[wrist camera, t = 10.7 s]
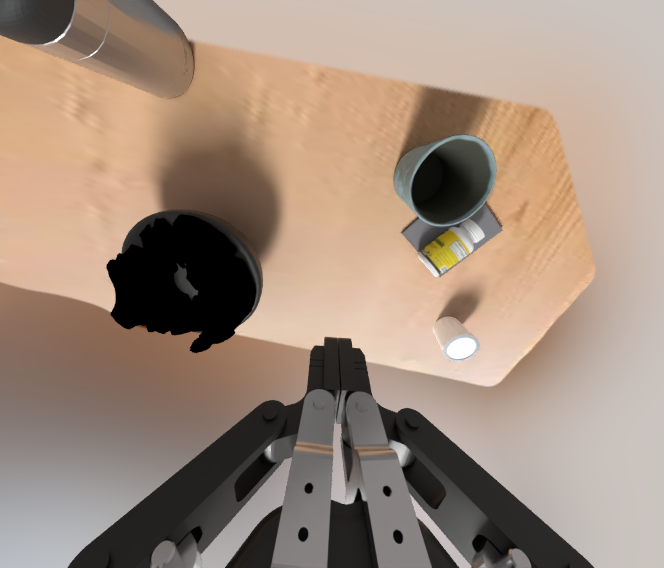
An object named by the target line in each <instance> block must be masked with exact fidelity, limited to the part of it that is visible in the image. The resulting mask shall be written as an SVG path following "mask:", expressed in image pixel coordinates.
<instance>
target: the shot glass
mask: <svg viewBox="0 0 664 568" xmlns="http://www.w3.org/2000/svg"><path fill="white" fill-rule="evenodd" d="M433 332H434V334H435V336H436V338H437V341H438V343H439V345H440V347H441V349H442V352H443V354H444V356H445V358H447V359H448V360H449V361H454V362H461V361H465V360H467V359H470V358H471V357H472V356H474V355H475V354H476V352H477V351H478V349H479V341H478V339H477V338H476V337H475V336H474V335H473V334H472V333H471V332H470V331H468V330H467V329H466V328H465V327H464V326H463V325H462V324H461V323H460V322H459V321H458V320H457V319H456V318H454V317H450V316H448V317H443V318H441V319H439V320H438V321H436V322H435V324H434V326H433Z"/></svg>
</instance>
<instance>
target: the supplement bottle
mask: <svg viewBox="0 0 664 568" xmlns="http://www.w3.org/2000/svg"><path fill="white" fill-rule="evenodd" d="M484 237H485V235H484V233H483V231H482V230H481V228H480V227H479V226H478V225H477V224H476V223H475V222H474V221H472V220H470V219H467V220H466V221H465V222H463V223H462V224H461V225H460V227H459V228H457V227H451V228H449V229H448V230H446V231H445V232H444V233H443V234H441V235H440V236H439V237H438V238H436V239H435V240H434V241H432V242H431V243H430V244H429V245H427V246H426V247H425V248H423V249H422V250H421V251H420V252H419V253H418V254H417V256H418V258H419V259H420V260H421V261H422V262H423V264H424V265H425V266H426V267H427V268H428V270H429V271H430V272H431V273H432V274H433V275H434V276H435V277H438V276H440V275H441V274H442V273H444V272H445V271H446V270H448V269H449V268H451V267H452V266H453V265H455V264H456V263H457V262H459V261H460V260H461V259H463V258H464V257H466V256H467V255H468V254H470V253H471V252H472V251H473V249H474V246H473V244H474V243H477V242H479V241H480V240H481V239H483V238H484Z"/></svg>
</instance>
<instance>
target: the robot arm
mask: <svg viewBox="0 0 664 568" xmlns="http://www.w3.org/2000/svg"><path fill="white" fill-rule="evenodd" d="M0 35H2V36H4V37H7V38H9V39H12V40H15V41H18V42H20V43H22V44H25V45H27V46H30V47H33V48H35V49H38V50H40V51H43V52H45V53H48V54H51V55H53V56H56V57H59V58H61V59H64V60H66V61H69V62H72V63H74V64H77V65H79V66H82V67H84V68H87V69H90V70H92V71H95V72H97V73H100V74H102V75H105V76H107V77H110V78H113V79H115V80H118V81H120V82H123V83H125V84H128V85H130V86H133V87H135V88H138V89H140V90H143V91H146V92H148V93H151V94H153V95H156V96H159V97H162V98H174V97H177V96H179V95H181V94H182V93H184V92H185V91H186V90H187V88H188V87H189V85H190V83H191V80H192V78H193V71H194V62H193V55H192V50H191V48H190V45H189V42H188V40H187V38H186V36H185V34H184V32H183V31H182V29H181V28H180V27H179V26H178V24H177V23H176V22H175V21H174V20H173V19H172V18H171V17H170V16H169V15H168V14H167V13H166V12H164V11H163V10H162V9H161V8H160V7H159V6H158V5H157V4H156V3H155V2H154V1H153V0H0ZM335 419H336V423H337V424H341V428H342V433H341V440H340V441H341V450H342V459H343V468H344V477H345V486H346V496H345V499H346V501H345V503H346V504H341V503H339V502H336V501H333V500H331V485H332V465H333V431H334V423H335ZM290 457H292V461H291V466H290V471H289V476H288V482H287V487H286V492H285V497H284V502H283V505H282V506H280V507H278V508H276V509H275V510H273V511H272V512H270V513H269V514H268V515H267V516H266V517H264V518H263V519H262V520H261V521H260V523H259V524H258V525H257V526H256V527H255V528H254V530H253V531H252V532H251V534H250V535H249V536H248V538H247V539H246V541H245V542H244V543H243V544H242V546H241V547H240V548H239V550H238V551H237V552H236V554H235V555H234V556H233V558H232V559H231V560H230V562H229V563H228V564H227V566H226V567H225V568H459V567H458V566H457V565H456V563H455V562H454V561H453V559H452V558H451V557H450V555H449V554H448V553H447V552H446V550H445V549H444V548H443V546H442V545H441V544H440V543H439V541H438V540H437V539H436V538H435V536H434V535H433V534H432V532H431V531H430V530H429V529H428V528H427V527H426V526H425V524H424V523H423V522H422V521H420V520H419V519H418V518H417V517H416V514H415V511H414V507H413V504H412V501H411V497H410V494H411V495H412V497H413V498H414V499H415V500H416V501H417V502H418V504H419V505H420V506H421V507H422V508H423V510H424V511H425V512H426V513H427V514H428V515H429V516H430V518H431V519H432V520H433V521H434V522H435V524H436V525H437V526H438V527H439V528H440V529H441V531H442V532H443V533H444V534H445V535H446V537H447V538H448V539H449V540H450V541H451V542H452V544H453V545H454V546H455V547H456V548H457V549H458V551H459V552H460V553H461V554H462V555H463V557H464V558H465V559H466V560H467V561H468V562H469V563H470V565H471V568H594V567H593V566H592V565H591V564H590V563H589V562H588V561H587V560H586V559H585V558H584V557H583V556H582V555H581V554H579V553H578V552H577V551H576V550H575V549H574V548H572V546H571V545H569V544H568V543H567V542H566V541H565V540H564V539H563V538H561V537H560V536H559V535H558V534H557V533H556V532H555V531H553V530H552V529H551V528H550V527H549V526H548V525H547V524H545V523H544V522H543V521H542V520H541V519H540V518H539V517H538V516H536V515H535V514H534V513H533V512H532V511H531V510H530V509H528V508H527V507H526V506H525V505H524V504H523V503H522V502H520V501H519V500H518V499H517V498H516V497H515V496H514V495H513V494H511V493H510V492H509V491H508V490H507V489H506V488H505V487H503V486H502V485H501V484H500V483H499V482H498V481H497V480H495V479H494V478H493V477H492V476H491V475H490V474H489V473H487V472H486V471H485V470H484V469H483V468H482V467H481V466H480V465H478V464H477V463H476V462H475V461H474V460H473V459H472V458H470V457H469V456H468V455H467V454H466V453H465V452H464V451H462V450H461V449H460V448H459V447H458V446H457V445H456V444H455V443H453V442H452V441H451V440H450V439H449V438H448V437H446V436H445V435H444V434H443V433H442V432H441V431H439V430H438V429H437V428H436V427H435V426H434V425H433V424H432V423H431V422H429V421H428V420H427V419H426V418H425V417H424V416H423V415H421V414H420V413H419V412H417V411H416V410H413V409H410V408H404V409H401V410H400V411H399V412H398V413H396V412H393V411H391V410H388V409H385V408H383V407H382V406H380V405H379V404H378V403H377V402H376V400H375V399H374V398H373V396H372V393H371V388H370V382H369V377H368V371H367V366H366V361H365V355H364V354H363V352H362V351H361V350H360V348H352V342H351V339H349V338H338V339H337V338H334V337H325V339H324V346H314V348H313V349H312V351H311V354H310V365H309V376H308V385H307V392H306V394H305V396H304V398H303V399H301V400H300V401H299V402H297V403H295V404H291V405H287V406H284V405H283V404H282V403H281V402H279V401H275V400H270V401H266V402H264V403H262V404H261V405H259V406H258V407H256V408H255V409H254V410H253V411H252V412H250V413H249V414H248V415H247V416H246V417H244V418H243V419H242V420H241V421H239V422H238V423H237V424H236V425H234V426H233V427H232V428H231V429H230V430H228V431H227V432H226V433H225V434H223V435H222V436H221V437H220V438H219V439H217V440H216V441H215V442H214V443H212V444H211V445H210V446H209V447H207V448H206V449H205V450H204V451H203V452H201V453H200V454H199V455H198V456H197V457H195V458H194V459H193V460H192V461H190V462H189V463H188V464H187V465H185V466H184V467H183V468H182V469H180V470H179V471H178V472H177V473H176V474H174V475H173V476H172V477H171V478H169V479H168V480H167V481H166V482H165V483H163V484H162V485H161V486H160V487H158V488H157V489H156V490H155V491H154V492H152V493H151V494H150V495H149V496H147V497H146V498H145V499H144V500H143V501H141V502H140V503H139V504H138V505H136V506H135V507H134V508H133V509H131V510H130V511H129V512H128V513H127V514H125V515H124V516H123V517H122V518H120V519H119V520H118V521H117V522H115V523H114V524H113V525H112V526H111V527H109V528H108V529H107V530H106V531H104V532H103V533H102V534H101V535H100V536H98V537H97V538H96V539H95V540H93V541H92V542H91V543H90V544H88V545H87V546H86V547H85V548H84V549H83V550H82V551H81V552H80V553H79V554H78V555H77V556H76V557H75V558H74V560H73V561H72V562H71V563H70V565H69V566H68V568H202V559H201V553H202V552H203V551H204V550H205V549H206V548H207V547H208V546H209V545H210V543H211V542H212V541H213V540H214V539H215V538H216V537H217V536H218V535H219V533H220V532H221V531H222V530H223V529H224V528H225V527H226V526H227V524H228V523H229V522H230V521H231V520H232V519H233V518H234V517H235V515H236V514H237V513H238V512H239V511H240V510H241V509H242V507H243V506H244V505H245V504H246V503H247V502H248V501H249V500H250V499H251V497H252V496H253V495H254V494H255V493H256V492H257V491H258V489H259V488H260V487H261V486H262V485H263V484H264V483H265V482H266V480H267V479H268V478H269V477H270V476H271V475H272V474H273V472H275V470H276V469H277V468H278V467H279V466H280V465H281V463H282V462H283V461H284V459H287V458H290ZM409 493H410V494H409Z"/></svg>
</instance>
